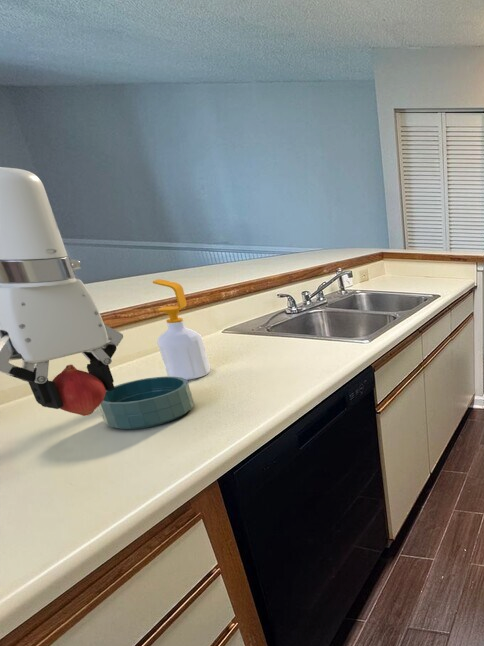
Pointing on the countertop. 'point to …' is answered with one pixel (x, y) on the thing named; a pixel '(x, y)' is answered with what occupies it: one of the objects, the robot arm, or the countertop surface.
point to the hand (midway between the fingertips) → (79, 396)
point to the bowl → (146, 402)
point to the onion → (79, 391)
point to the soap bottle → (181, 342)
